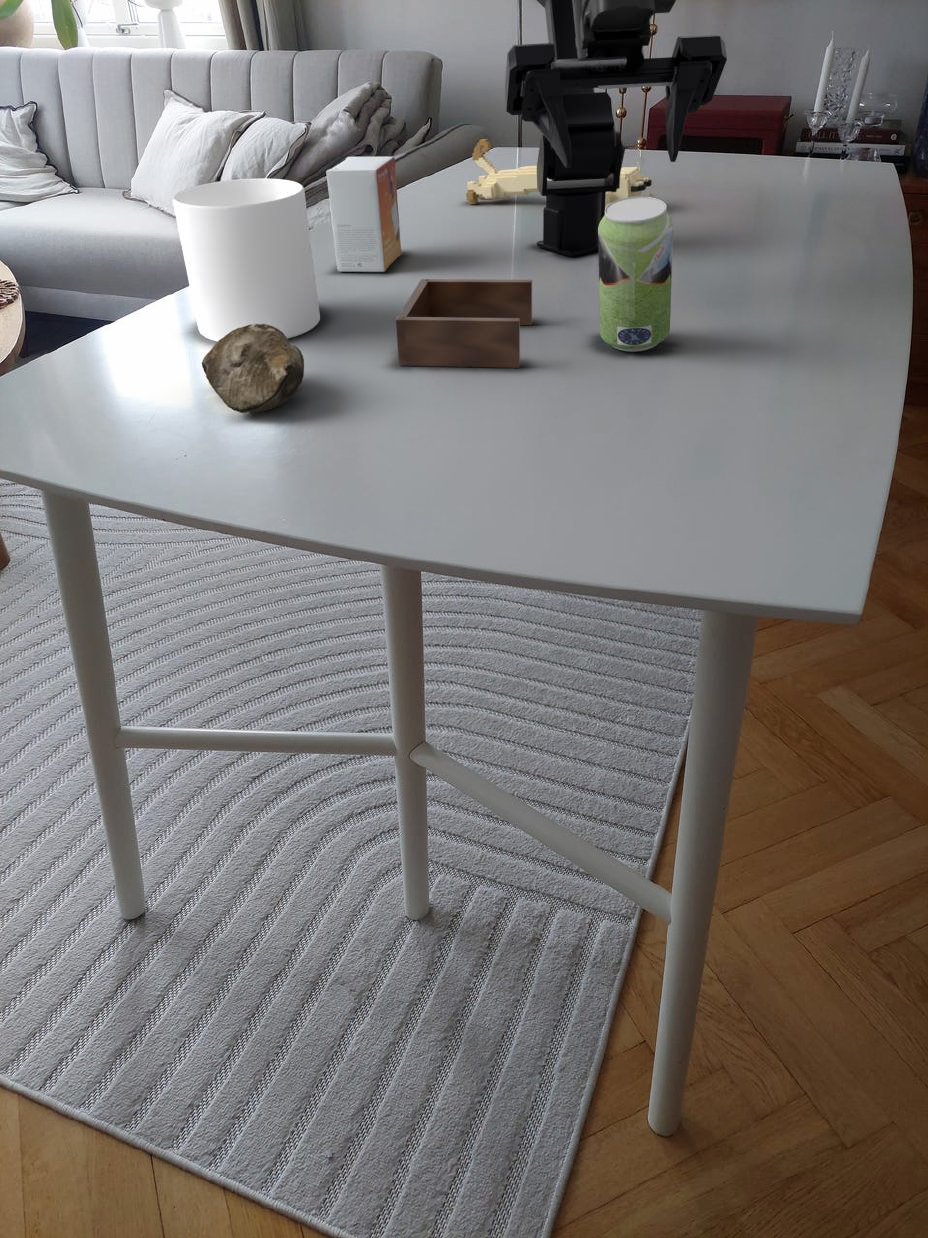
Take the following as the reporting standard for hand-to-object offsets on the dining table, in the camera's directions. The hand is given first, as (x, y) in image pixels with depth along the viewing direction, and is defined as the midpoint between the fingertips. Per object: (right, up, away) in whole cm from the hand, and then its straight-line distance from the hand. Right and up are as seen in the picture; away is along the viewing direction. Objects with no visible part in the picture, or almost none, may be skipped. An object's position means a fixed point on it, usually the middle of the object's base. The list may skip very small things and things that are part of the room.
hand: (621, 161), depth 83 cm
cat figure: (-1, +15, +45) cm, 48 cm away
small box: (-24, +1, +26) cm, 36 cm away
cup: (-33, -11, +10) cm, 37 cm away
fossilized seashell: (-30, -22, -5) cm, 38 cm away
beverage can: (+1, -16, +1) cm, 16 cm away
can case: (-13, -15, +4) cm, 20 cm away
